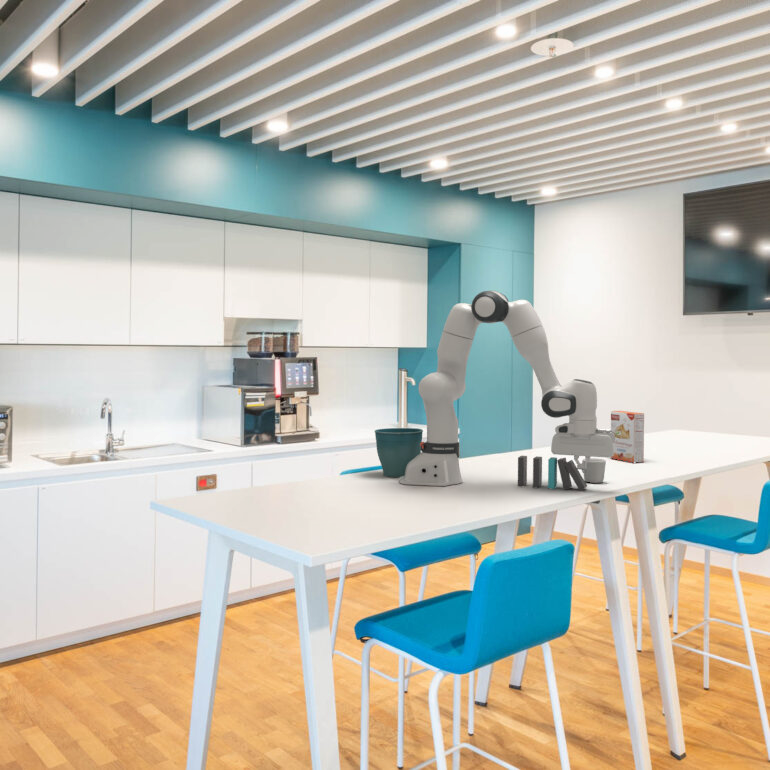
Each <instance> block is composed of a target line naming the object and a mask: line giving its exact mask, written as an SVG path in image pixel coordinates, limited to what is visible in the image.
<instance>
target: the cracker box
mask: <svg viewBox="0 0 770 770" xmlns="http://www.w3.org/2000/svg"><path fill="white" fill-rule="evenodd" d="M610 431H613V432H614V434H615V441H614V442H613V445H614V455H613V456H612V457H611V458H613V459H612V460H615V459H617V460H616V461H620V460H623V461H622V462H625V461H628V462H627V463H630V462H633V463H632V464H635V463H634V462H642V463H644V457H645V454H644V452H645V451H644V450H645V449H644V448H645V446H644V445H645V443H644V442H645V413H643V412H635V411H628V410H627V411H626V410H612V411H610ZM610 433H612V432H610ZM611 458H610V459H611Z"/></svg>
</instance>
